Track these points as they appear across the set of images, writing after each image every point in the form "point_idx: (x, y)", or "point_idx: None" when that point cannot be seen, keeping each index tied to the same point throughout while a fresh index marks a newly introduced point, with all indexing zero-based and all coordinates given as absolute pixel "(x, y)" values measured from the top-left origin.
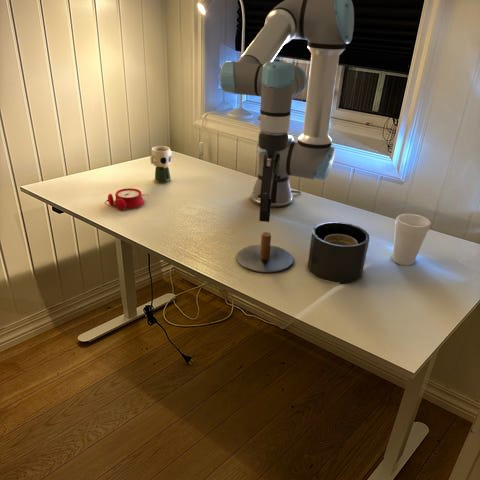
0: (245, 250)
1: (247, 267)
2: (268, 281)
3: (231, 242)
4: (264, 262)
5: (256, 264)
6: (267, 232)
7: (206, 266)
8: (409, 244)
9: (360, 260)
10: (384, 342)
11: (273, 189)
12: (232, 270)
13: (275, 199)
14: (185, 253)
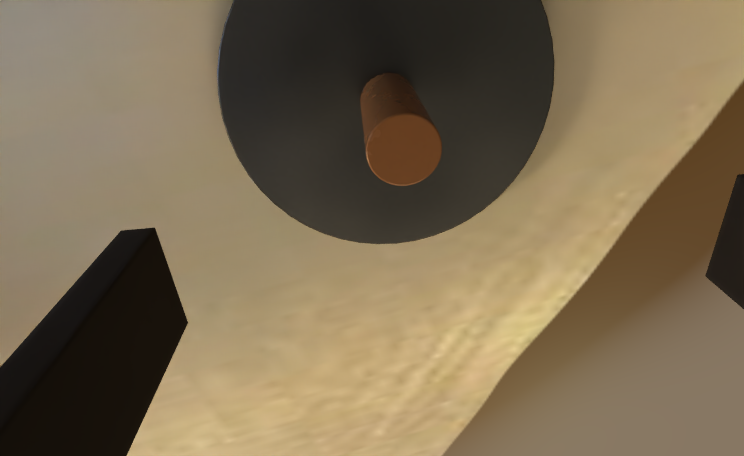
0: (342, 217)
1: (522, 161)
2: (607, 18)
3: (250, 294)
4: (447, 88)
5: (480, 125)
6: (370, 150)
7: (505, 317)
8: None
9: None
10: None
11: (77, 405)
12: (520, 217)
13: (133, 261)
14: (419, 405)
